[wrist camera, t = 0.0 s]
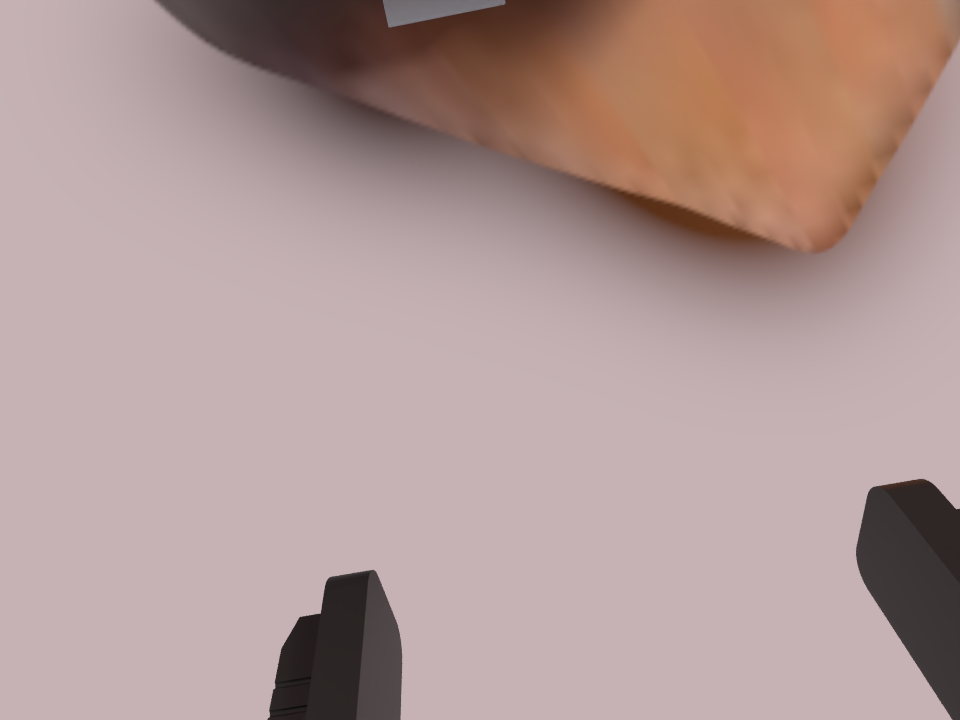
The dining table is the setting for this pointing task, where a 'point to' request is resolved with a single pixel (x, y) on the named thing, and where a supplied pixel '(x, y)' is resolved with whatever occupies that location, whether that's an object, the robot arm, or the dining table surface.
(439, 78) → the dining table surface
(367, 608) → the robot arm
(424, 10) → the slate block
